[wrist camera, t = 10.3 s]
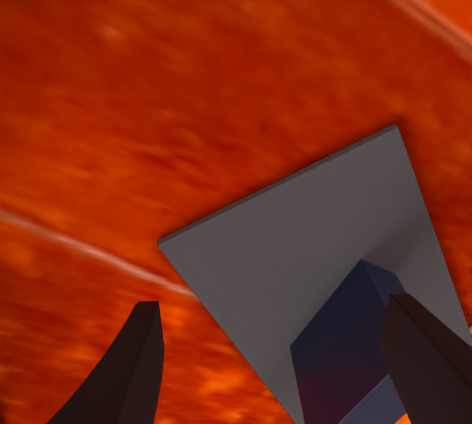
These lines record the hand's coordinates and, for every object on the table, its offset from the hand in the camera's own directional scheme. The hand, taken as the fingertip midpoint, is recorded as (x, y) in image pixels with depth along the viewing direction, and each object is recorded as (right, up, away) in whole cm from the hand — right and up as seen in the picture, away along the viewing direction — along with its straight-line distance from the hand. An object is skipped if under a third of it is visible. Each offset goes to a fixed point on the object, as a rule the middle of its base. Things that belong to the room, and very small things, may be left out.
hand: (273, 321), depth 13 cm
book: (+5, -3, +13) cm, 14 cm away
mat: (+5, -3, +14) cm, 15 cm away
